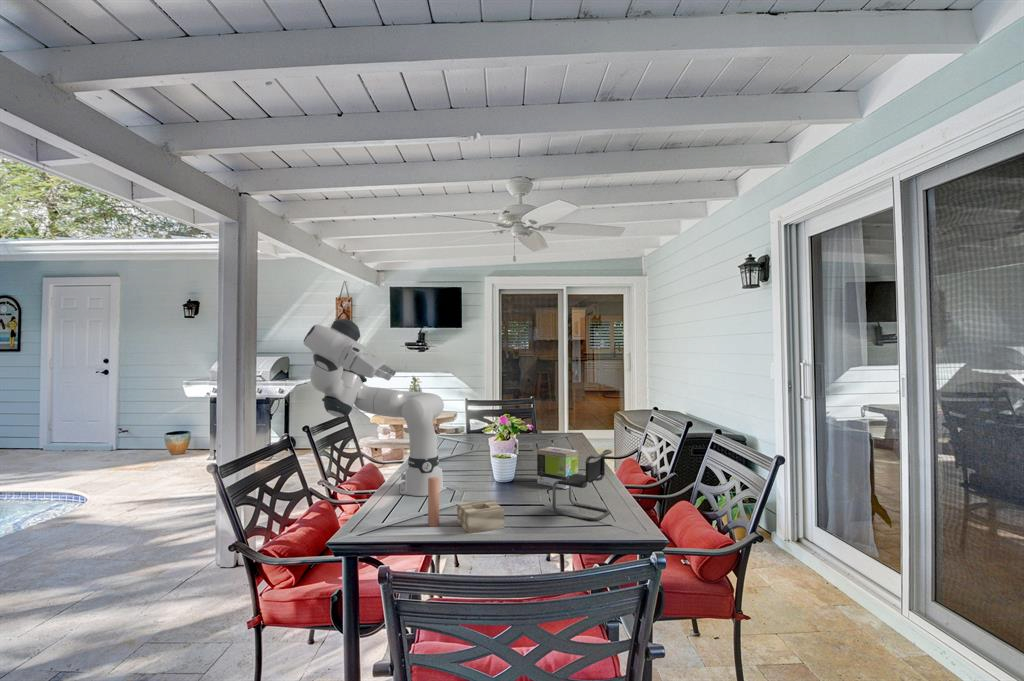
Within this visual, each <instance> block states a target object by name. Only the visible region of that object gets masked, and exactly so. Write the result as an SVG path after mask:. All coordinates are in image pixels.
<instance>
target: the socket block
mask: <svg viewBox="0 0 1024 681" xmlns="http://www.w3.org/2000/svg"><path fill="white" fill-rule="evenodd" d="M456 506H457V507H456V512H457V513H456V514H457V515H456V518H457V519H456V521H457V523H458V524H459V526H461V527H462V528H463V530H465V532H466V533H468V534H474V532H476V533H481V532H480V531H482V532H488V530H489V531H494V530H495V531H497V530H501V529H502V528H503V529H505V509H504V508H503V507H502V506H501V505H499V504H498V503H496V502H495V501H494V500H493V499H483V500H474V501H466V502H457V504H456ZM503 529H502V530H503Z"/></svg>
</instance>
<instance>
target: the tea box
mask: <svg viewBox="0 0 1024 681" xmlns="http://www.w3.org/2000/svg"><path fill="white" fill-rule="evenodd" d="M536 456H537V457H536V458H537V459H536V466H537V468H536V471H537V472H536V474H537V475H536V476H537V482H536V483H537V484H538V485H544V486H548V487H553V484H554V482H556V481H561V480H566V479H568V478H570V477H571V476H572V475H573V474H579V450H578V449H569V448H563V447H556V446H555V447H554V446H547V447H544V448H543V447H542V448H538V449H537V451H536ZM556 488H558V489H564V490H567V489H569V486H567V485H562V484H557V485H556ZM572 488H573V486H572Z"/></svg>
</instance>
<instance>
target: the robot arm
mask: <svg viewBox="0 0 1024 681" xmlns="http://www.w3.org/2000/svg"><path fill="white" fill-rule="evenodd" d="M360 338H361V332H360V328H359V326H358V325H357V324H356V323H355V322H354V321H352V320H351V319H347V318H340V319H337V320H334V321H333V323H332V324H331V326H330V327H326V326H324V325H320V324H314V325H313V326H311V328H310V329H309V331H308V332H307V334H306V335H305V337H304V338H303V345H304V346H305V347H306V348H308V349H309V350H310V351H311V352H312V353H313V355H312V357H313V358H312V359H313V363H314V364H313V366H312V368H311V369H310V376H309V377H310V382H311V385H312V386H313V388H314V389H315V390H317V391H318V392H320V393H323V394H324V397H323V398H321V401H322V402H323V406H324V407H323V408H324V409H325V411H326V412H327V413H328V414H330V415H331V416H333V417H335V418H345V417H347V416H349V415H350V414H351V412H352V411H353V406H354V407H355V409H357V410H359V411H362V412H365V413H368V414H372V415H377V416H382V417H389V418H399V419H401V418H403V420H405V424H406V427H407V430H408V436H409V456H408V459H407V468H406V470H405V473H402V474H401V476H400V478H401V479H400V480H401V481H402V482H400V483H399V494H400V495H407V496H415V497H416V496H417V497H425V496H427V497H428V478H432V477H437V478H439V494H440V493H441V492H442V491H445V490H447V486H446V485H445V484H444V483H443V482H444V481H443V469H442V467H440V466H439V461H440V459H439V455H438V435H437V433H436V432H435V427H434V426H435V425H434V420H435V419H437V418H438V417H439V416H440V415H441V413H442V412H443V411H444V408H445V404H444V401H443V398H442V397H441V396H440V395H438V394H435V393H431V392H424V391H409V390H398V389H397V390H396V389H391V388H386V387H385V388H384V387H375V386H368V385H366V384H364V383H366V382H367V379H368V378H370V379H373V378H374V377H375V376H376V377H377V378H381V379H383V380H386V381H390V380H391V378H392V377H394V376H395V375H396V373H397V370H395V369H393V368H392V367H390V366H389V365H387V360H386V359H384V358H382V357H380V356H378V355H377V354H373V353H372V352H370V351H369V352H368V351H367V350H366V346H365V345H364V344H361V343H359V342H358V340H360ZM366 377H367V378H366Z"/></svg>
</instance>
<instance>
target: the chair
mask: <svg viewBox="0 0 1024 681" xmlns="http://www.w3.org/2000/svg"><path fill="white" fill-rule="evenodd" d="M612 453H613V451H612V449H605V450H603V451H602V453H601V452H600V453H599V454H595V455H593V454H592V455H591V454H590V455H589V456H587V458H586V459H585V475H584V474H579V473H578V474H573V475H572V476H571V477H570V478H568V479H566V480H561V481H556V482H554V484H553V486H552V510H554V512H555V513H556V514H558V515H562V516H564V517H572V518H575V519H580V520H585V521H588V522H598V521H600V520H602V519H604V518H605V517H607V516H609V515H610V514H611V511H610V510H609V509H608V508H603V507H598V506H594V505H589V504H584V503H580V502H575V501H574V500H573V487H574V488H579V489H584V488H587V487H588V486H589V484H591V483H592V482H594V481H597V482H599V481H602V480H603V479H605V478H604V477H605V476H606V475H605V469H606V468H605V466H606V464H605V461H606V460H605V458H606V457H605V456H608V455H611V454H612ZM592 459H596V461H592V462H590V460H592ZM597 459H598V460H597ZM557 484H562V485H567V486H569V488H568V489H569V490H568V494H569V495H568V496H569V497H568V498H569V502H570V503H571V504H572V505H573V506H576V507H579V508H585V509H590V510H595V511H599V512H604V513H603V514H601V515H599V516H597V517H589V516H585V515H581V514H575V513H570V512H567V511H561V510H559V509H558V508H557V505H556V503H557V502H556V500H557V499H556V488H557V487H556V485H557ZM572 486H573V487H572Z"/></svg>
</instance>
